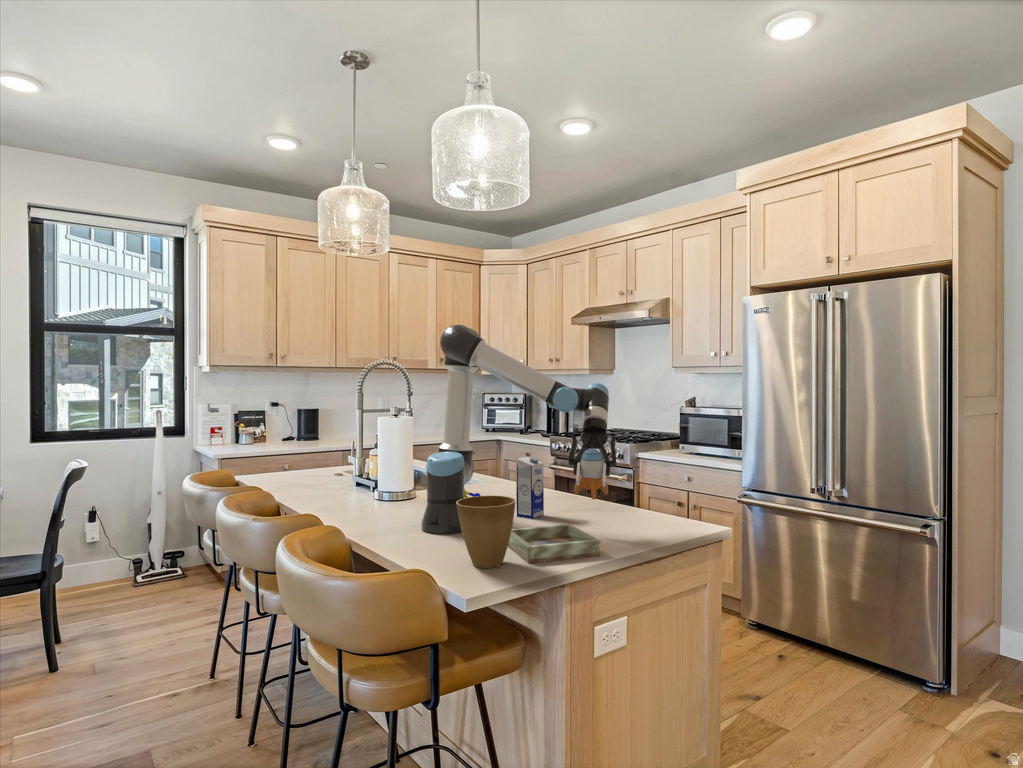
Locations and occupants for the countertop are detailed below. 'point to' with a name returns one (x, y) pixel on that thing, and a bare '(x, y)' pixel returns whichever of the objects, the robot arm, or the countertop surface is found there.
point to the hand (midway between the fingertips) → (590, 483)
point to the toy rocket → (591, 473)
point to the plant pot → (486, 527)
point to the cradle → (552, 543)
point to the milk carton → (529, 488)
